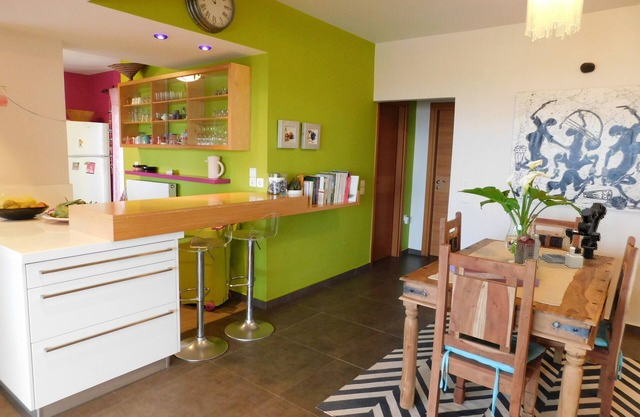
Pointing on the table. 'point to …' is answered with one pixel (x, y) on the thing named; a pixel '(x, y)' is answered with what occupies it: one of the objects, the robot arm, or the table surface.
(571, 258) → the medicine bottle
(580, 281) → the table surface
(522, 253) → the juice carton
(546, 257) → the bottle holder
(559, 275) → the table surface
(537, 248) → the plastic bottle
